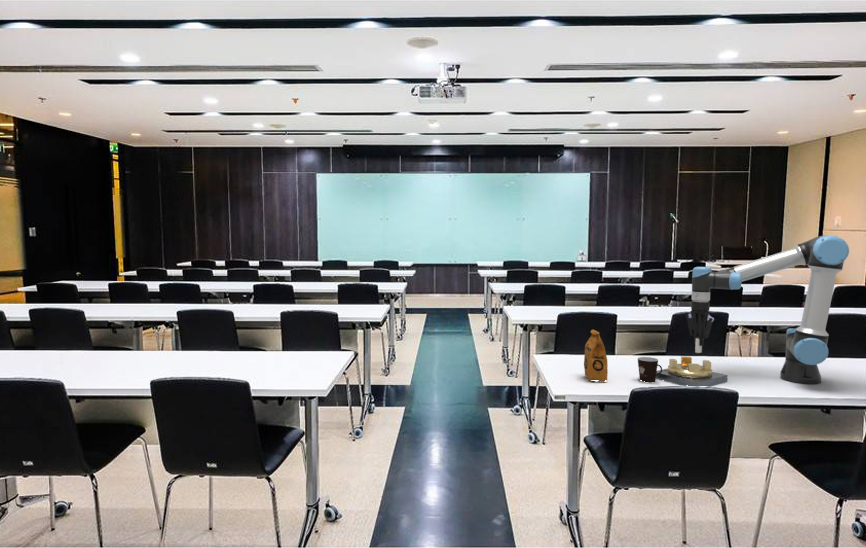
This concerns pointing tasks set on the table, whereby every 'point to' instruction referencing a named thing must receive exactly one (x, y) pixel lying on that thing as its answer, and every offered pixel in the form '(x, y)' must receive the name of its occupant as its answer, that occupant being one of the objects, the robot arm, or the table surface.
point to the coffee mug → (648, 368)
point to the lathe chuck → (690, 368)
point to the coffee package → (595, 358)
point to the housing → (692, 379)
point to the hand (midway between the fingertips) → (698, 352)
